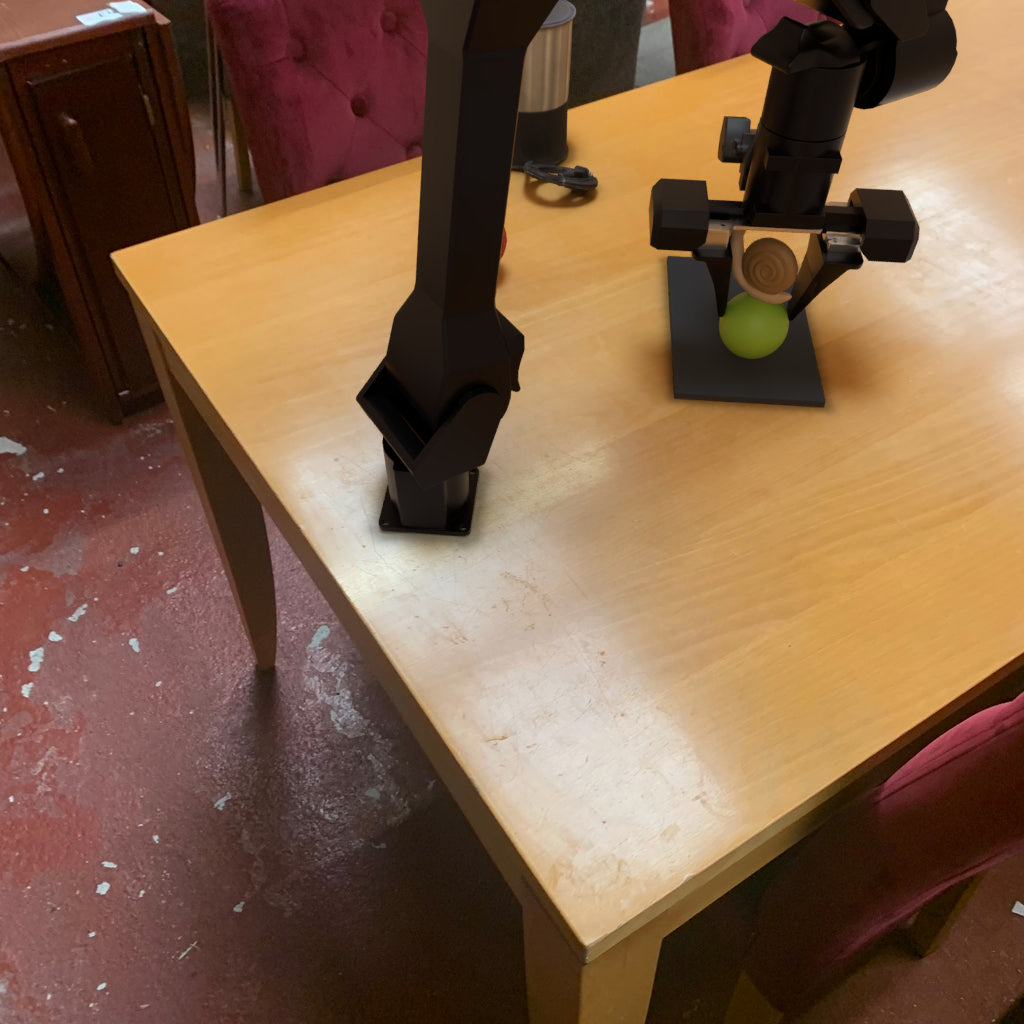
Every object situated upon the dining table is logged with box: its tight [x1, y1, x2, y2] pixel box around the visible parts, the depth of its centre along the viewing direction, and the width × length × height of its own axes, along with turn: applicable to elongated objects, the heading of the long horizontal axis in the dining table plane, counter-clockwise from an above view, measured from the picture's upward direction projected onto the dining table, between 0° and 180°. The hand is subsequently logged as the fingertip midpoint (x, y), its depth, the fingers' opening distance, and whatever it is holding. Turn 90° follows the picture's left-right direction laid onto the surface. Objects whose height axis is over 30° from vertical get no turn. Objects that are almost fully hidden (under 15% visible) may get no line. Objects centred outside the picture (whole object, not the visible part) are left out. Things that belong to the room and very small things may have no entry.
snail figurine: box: [719, 230, 799, 359], centre depth 70 cm, size 5×6×12 cm
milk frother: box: [512, 0, 599, 194], centre depth 92 cm, size 14×16×15 cm
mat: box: [666, 255, 827, 408], centre depth 78 cm, size 20×12×1 cm, turn 175°
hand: (754, 315), depth 71 cm, fingers closed on snail figurine, 5 cm apart
